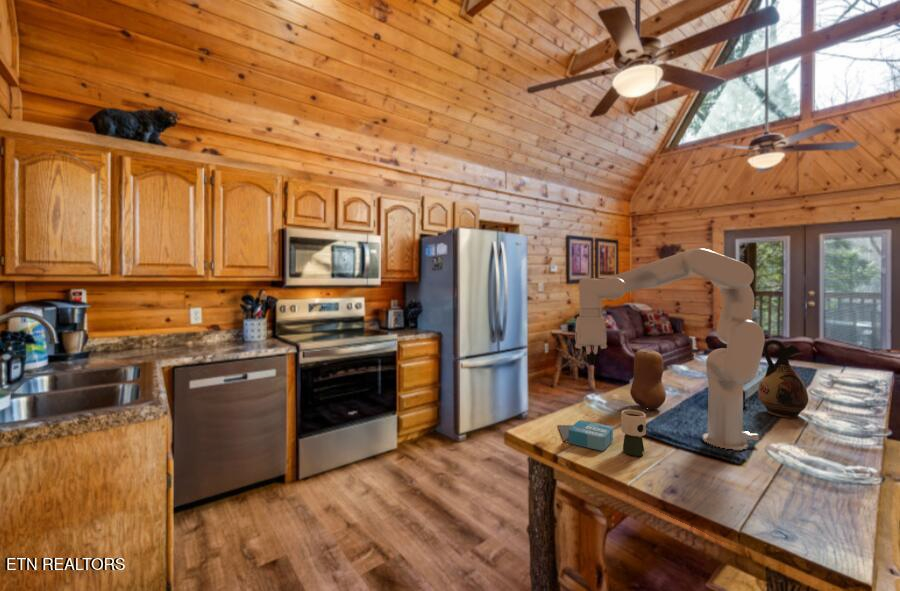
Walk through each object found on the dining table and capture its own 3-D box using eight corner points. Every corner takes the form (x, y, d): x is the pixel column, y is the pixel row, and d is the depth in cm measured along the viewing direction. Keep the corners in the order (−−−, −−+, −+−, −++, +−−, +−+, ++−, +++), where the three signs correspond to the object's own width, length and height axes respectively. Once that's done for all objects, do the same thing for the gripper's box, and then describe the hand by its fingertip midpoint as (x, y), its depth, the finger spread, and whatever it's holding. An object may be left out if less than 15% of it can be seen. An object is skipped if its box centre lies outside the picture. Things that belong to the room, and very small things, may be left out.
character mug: (638, 462, 121) (638, 420, 120) (614, 455, 126) (614, 414, 125) (651, 451, 128) (651, 411, 128) (629, 445, 133) (629, 406, 133)
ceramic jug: (803, 411, 163) (804, 338, 162) (811, 423, 150) (813, 344, 149) (751, 405, 172) (752, 336, 171) (755, 416, 159) (756, 341, 158)
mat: (590, 426, 150) (590, 425, 150) (600, 443, 135) (600, 441, 135) (557, 425, 152) (557, 424, 152) (563, 441, 137) (563, 440, 137)
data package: (614, 426, 137) (603, 437, 128) (614, 439, 137) (603, 451, 128) (579, 419, 144) (567, 429, 135) (579, 431, 145) (567, 442, 135)
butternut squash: (672, 409, 169) (672, 350, 168) (655, 415, 161) (655, 354, 160) (640, 401, 180) (640, 346, 180) (623, 406, 173) (623, 349, 172)
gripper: (609, 312, 144) (610, 362, 145) (567, 312, 146) (567, 362, 147) (615, 313, 137) (616, 367, 138) (570, 314, 139) (571, 366, 139)
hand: (591, 364), depth 142 cm, fingers closed
